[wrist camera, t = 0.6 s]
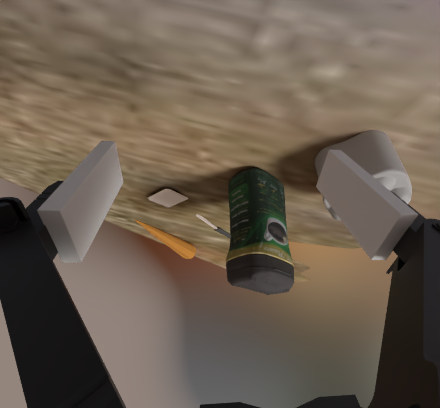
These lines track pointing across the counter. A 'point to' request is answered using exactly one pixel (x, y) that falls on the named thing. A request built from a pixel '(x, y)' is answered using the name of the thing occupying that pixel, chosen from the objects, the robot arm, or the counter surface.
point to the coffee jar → (258, 234)
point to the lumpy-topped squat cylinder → (372, 162)
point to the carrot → (172, 241)
